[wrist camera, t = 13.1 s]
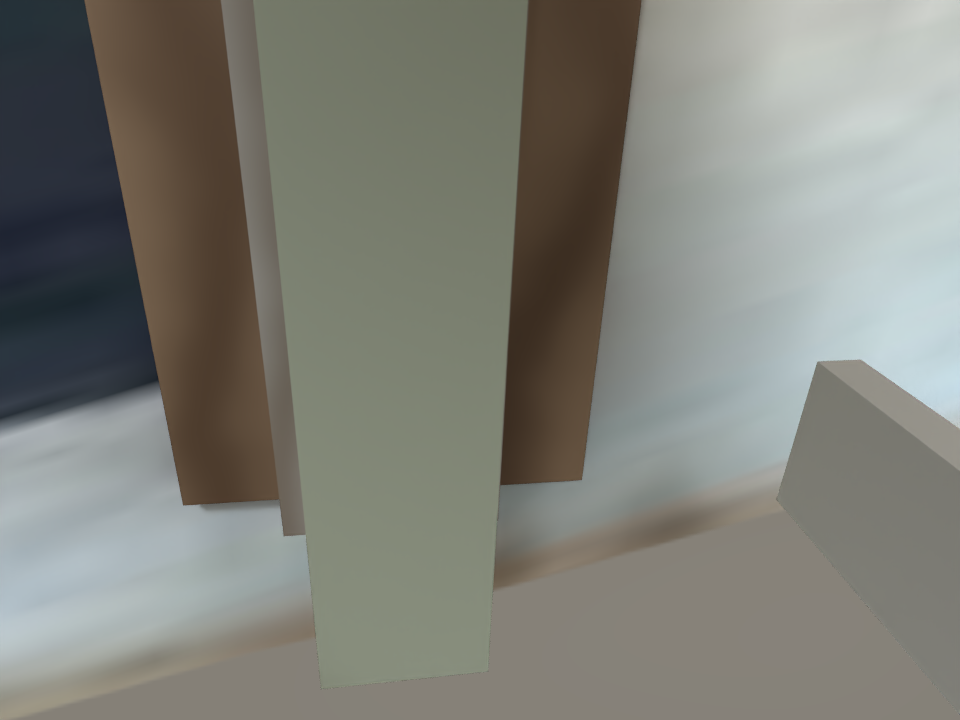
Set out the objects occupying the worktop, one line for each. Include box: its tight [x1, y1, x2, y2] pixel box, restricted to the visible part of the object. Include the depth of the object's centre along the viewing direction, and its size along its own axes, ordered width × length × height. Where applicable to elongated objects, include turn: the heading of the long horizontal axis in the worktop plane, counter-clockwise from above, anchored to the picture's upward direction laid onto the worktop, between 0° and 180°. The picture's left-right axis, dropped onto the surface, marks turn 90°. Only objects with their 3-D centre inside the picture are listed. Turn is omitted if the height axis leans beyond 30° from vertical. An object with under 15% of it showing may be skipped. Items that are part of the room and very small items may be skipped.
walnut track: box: [85, 0, 641, 536], centre depth 24 cm, size 18×26×4 cm
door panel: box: [253, 0, 528, 689], centre depth 19 cm, size 4×16×14 cm, turn 178°
